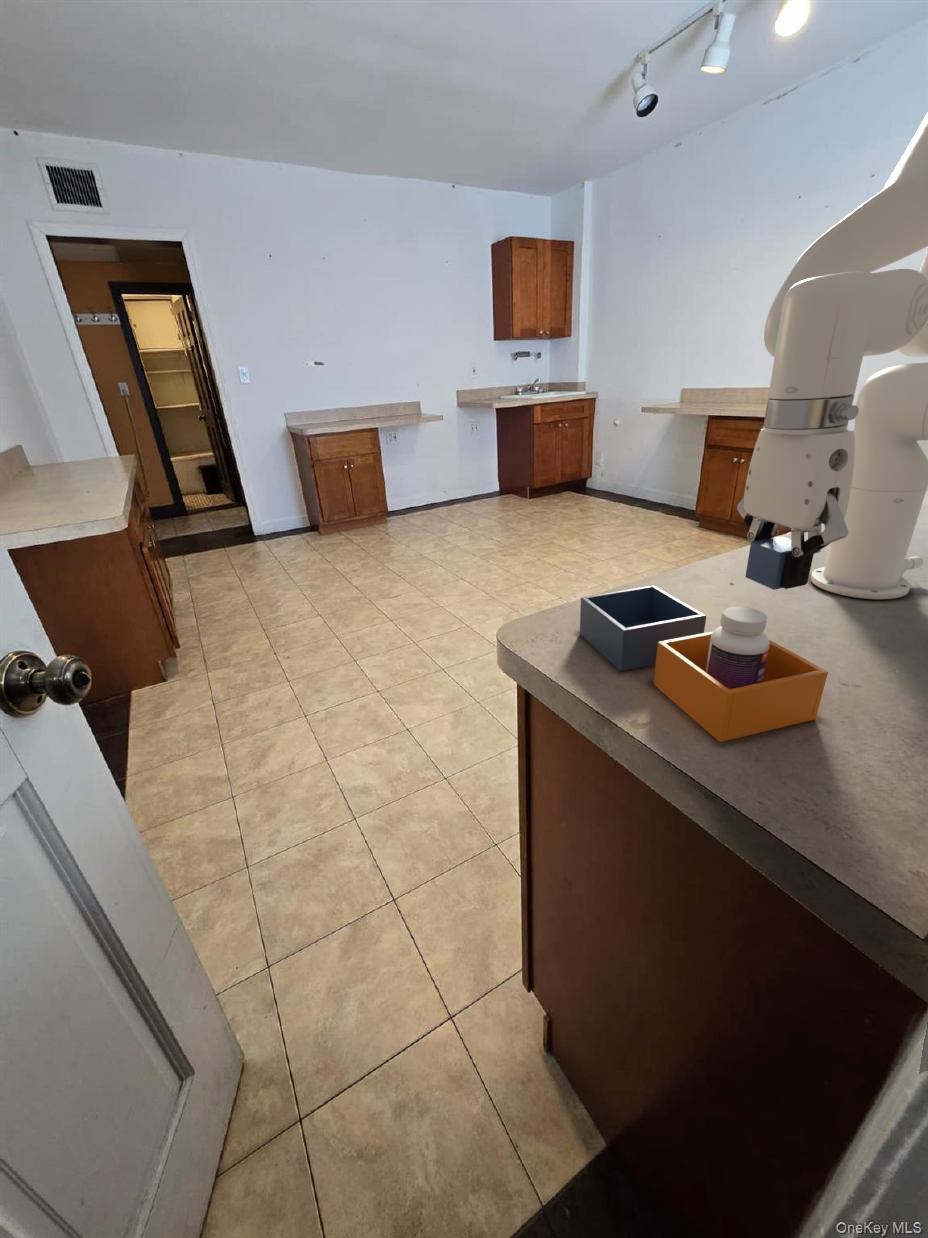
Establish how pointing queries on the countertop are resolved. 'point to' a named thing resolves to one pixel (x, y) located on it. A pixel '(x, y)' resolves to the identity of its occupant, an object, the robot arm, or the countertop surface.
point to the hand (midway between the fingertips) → (775, 577)
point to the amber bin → (738, 689)
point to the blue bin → (636, 624)
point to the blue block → (768, 561)
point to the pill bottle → (738, 648)
